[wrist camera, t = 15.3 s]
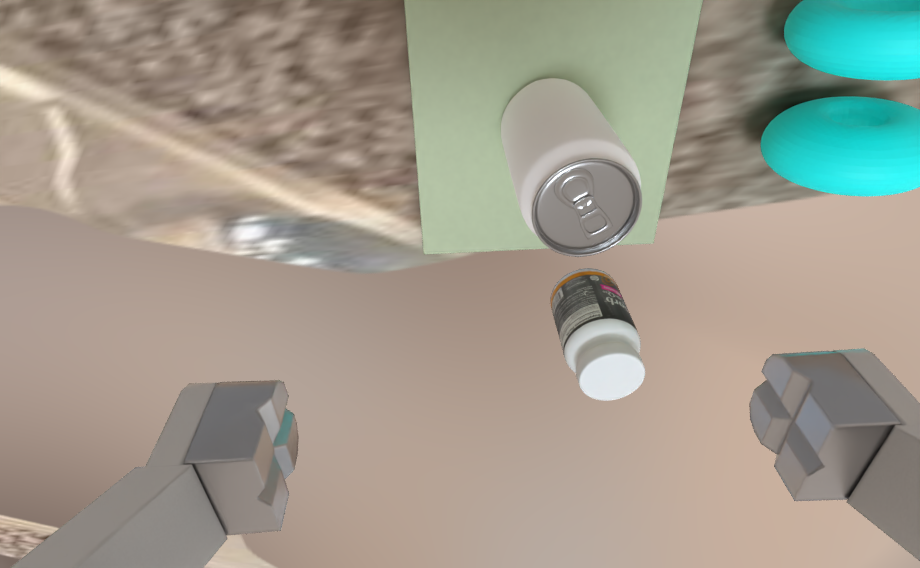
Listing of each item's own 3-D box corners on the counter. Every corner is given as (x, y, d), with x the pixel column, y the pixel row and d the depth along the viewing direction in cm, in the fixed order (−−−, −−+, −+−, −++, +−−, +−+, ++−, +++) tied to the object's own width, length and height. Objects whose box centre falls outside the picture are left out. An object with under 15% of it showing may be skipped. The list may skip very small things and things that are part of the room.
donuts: (924, -31, 35) (1075, 1, 27) (873, 128, 41) (983, 193, 32) (758, -8, 35) (857, 29, 27) (731, 146, 41) (805, 214, 33)
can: (569, 55, 36) (621, 124, 26) (610, 137, 39) (669, 226, 30) (481, 110, 38) (499, 194, 28) (527, 185, 41) (558, 282, 32)
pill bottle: (629, 293, 48) (669, 378, 40) (573, 329, 50) (601, 417, 42) (591, 252, 46) (626, 335, 38) (534, 292, 48) (556, 378, 40)
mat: (401, -41, 33) (400, -40, 33) (709, -53, 33) (713, -51, 33) (423, 250, 45) (423, 254, 44) (651, 239, 45) (653, 243, 45)
